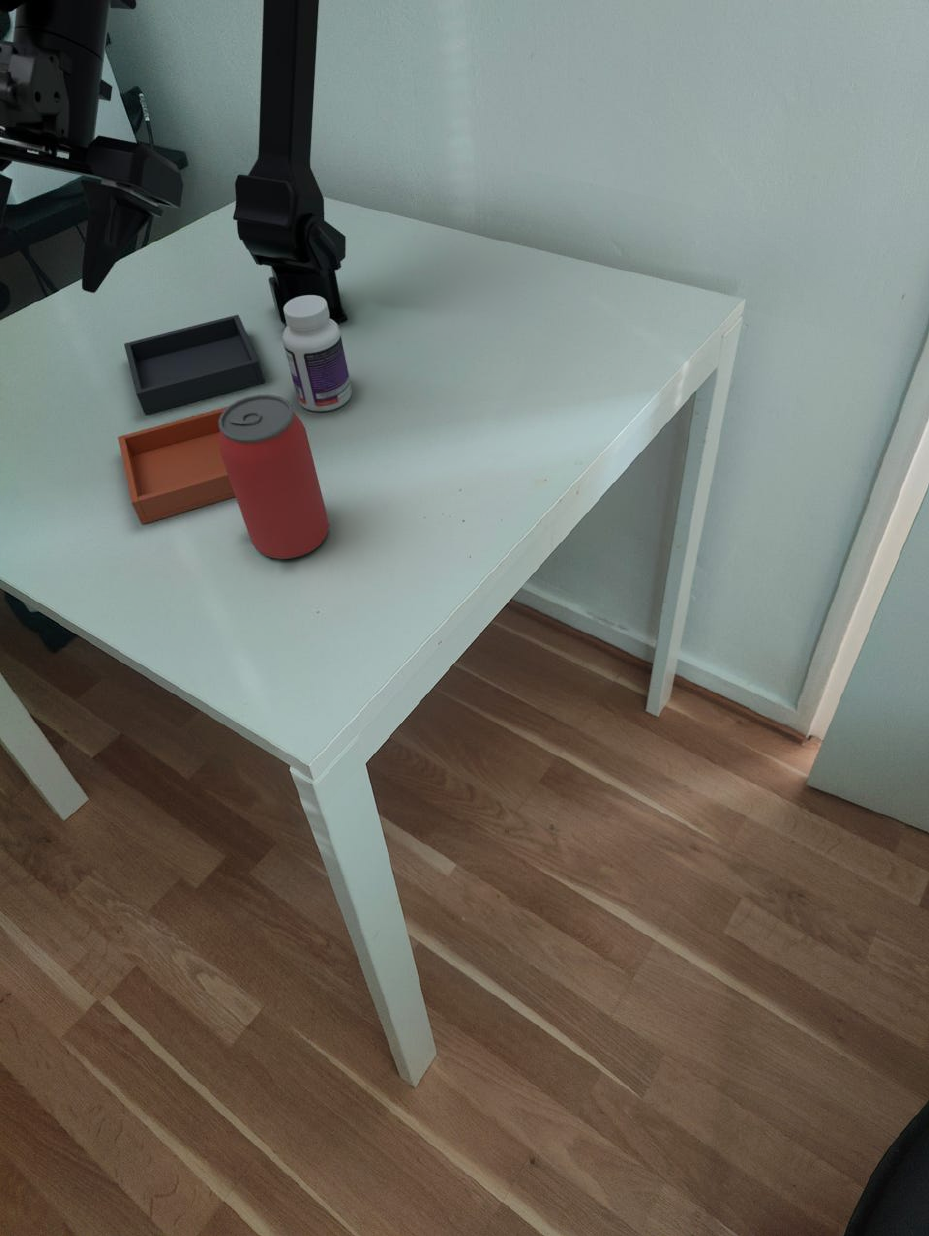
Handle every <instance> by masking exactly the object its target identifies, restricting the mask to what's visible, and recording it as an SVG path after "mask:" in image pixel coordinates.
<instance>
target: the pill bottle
mask: <svg viewBox="0 0 929 1236" xmlns="http://www.w3.org/2000/svg"><path fill="white" fill-rule="evenodd" d="M284 315H285V319H286V324H287V326H286V327H285V328H284V331H283V333H282V343H283V347H284V351H285V355H286V359H287V363H288V367H289V371H290V375H291V379H292V382H293V386H294V390H295V393H296V397H297V400H298V403H299V404H300V406H301V407H303V408H304V409H306V410H308V411H312V412H329V411H333V410H336V409H339V408H340V407H342V406H343V405H345V404H346V403H347V402H348V401H349V400H350V399H351V397H352V393H353V392H352V391H353V389H352V382H351V379H350V373H349V368H348V363H347V359H346V355H345V350H344V345H343V338H342V333H341V329H340V326H339V325H338V323H336V322H335V321H333V320H332V319H330V318H329V310H328V305H327V302H326V300H325V299H324V298H322V297H320V296H316V295H305V296H300V297H296V298H294V299H292V300H290V301H289V302H287V303H286V304H285V306H284ZM286 324H285V325H286Z"/></svg>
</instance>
